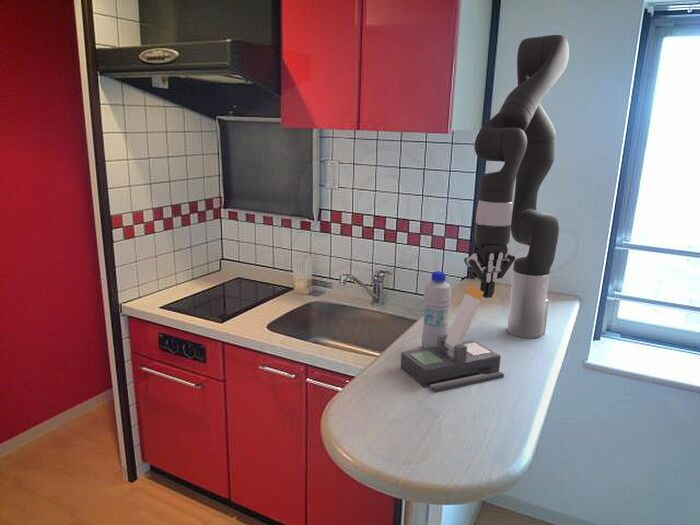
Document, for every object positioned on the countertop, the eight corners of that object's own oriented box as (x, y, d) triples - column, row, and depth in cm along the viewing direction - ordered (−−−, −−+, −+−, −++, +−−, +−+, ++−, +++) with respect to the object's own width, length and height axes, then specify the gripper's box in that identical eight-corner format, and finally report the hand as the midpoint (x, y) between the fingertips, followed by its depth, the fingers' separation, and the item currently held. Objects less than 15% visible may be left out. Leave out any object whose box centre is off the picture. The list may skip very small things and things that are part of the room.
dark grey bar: (497, 373, 118) (497, 370, 118) (503, 377, 117) (503, 374, 116) (429, 388, 111) (430, 384, 111) (435, 392, 109) (435, 388, 109)
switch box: (471, 355, 128) (474, 327, 126) (499, 371, 119) (501, 342, 118) (400, 368, 120) (402, 339, 118) (424, 387, 111) (426, 356, 109)
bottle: (447, 355, 128) (452, 276, 123) (419, 352, 129) (424, 274, 124) (447, 344, 134) (453, 269, 129) (421, 342, 135) (425, 267, 131)
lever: (447, 347, 121) (472, 286, 120) (458, 354, 117) (485, 292, 116) (442, 345, 120) (467, 284, 119) (453, 353, 116) (479, 290, 115)
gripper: (505, 217, 121) (498, 289, 125) (458, 220, 116) (452, 295, 120) (529, 222, 114) (520, 298, 119) (479, 225, 109) (473, 305, 113)
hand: (486, 296), depth 119 cm, fingers closed
